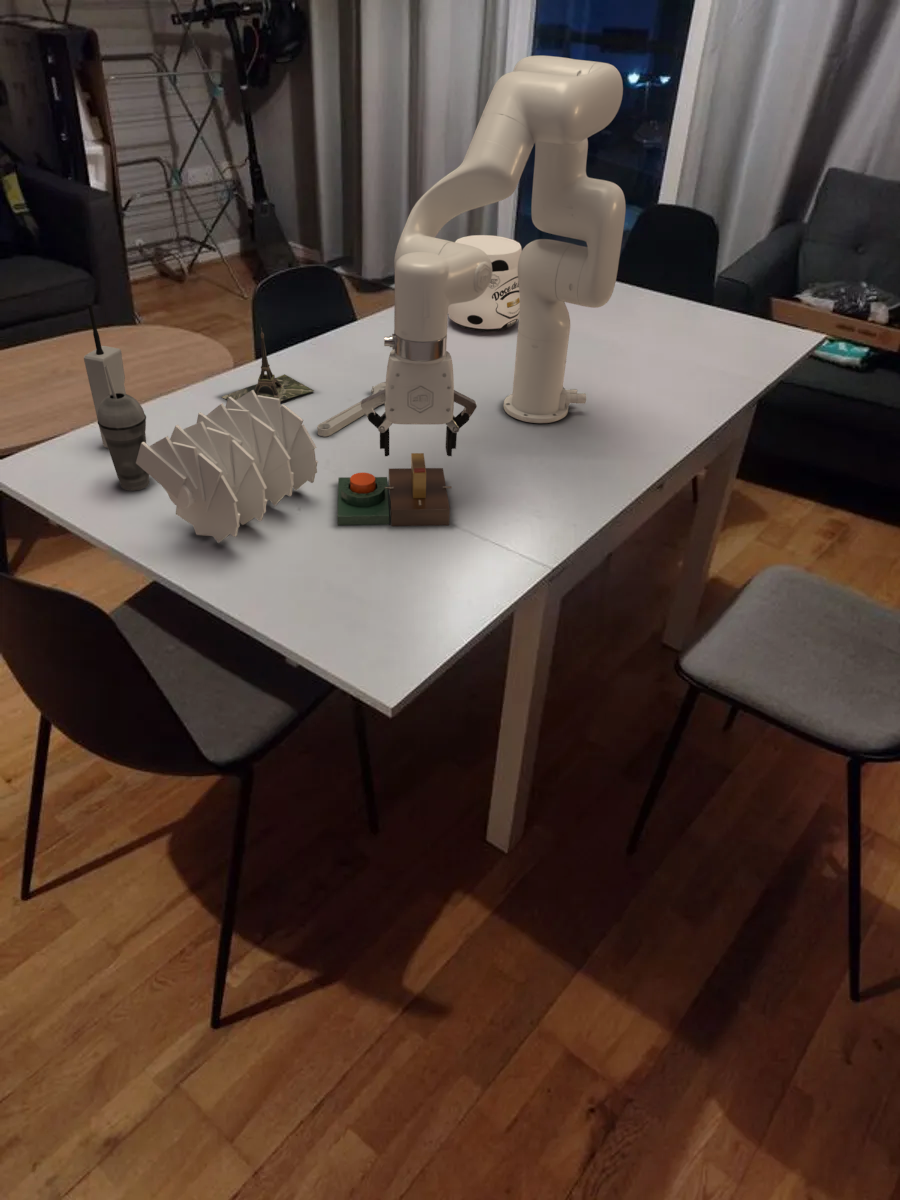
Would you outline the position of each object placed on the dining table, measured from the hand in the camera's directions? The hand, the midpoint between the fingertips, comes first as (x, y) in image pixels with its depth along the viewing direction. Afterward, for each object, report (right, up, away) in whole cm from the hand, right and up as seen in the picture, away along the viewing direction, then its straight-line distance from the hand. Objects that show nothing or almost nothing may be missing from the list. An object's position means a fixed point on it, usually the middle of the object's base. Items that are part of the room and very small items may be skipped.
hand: (417, 452), depth 137 cm
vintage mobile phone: (-53, +4, +18) cm, 56 cm away
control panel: (0, -7, +6) cm, 10 cm away
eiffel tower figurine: (-31, +17, +36) cm, 51 cm away
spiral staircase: (-28, -9, +2) cm, 29 cm away
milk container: (+13, +42, +71) cm, 84 cm away
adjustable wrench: (-12, +13, +32) cm, 37 cm away
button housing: (-9, -8, +5) cm, 13 cm away
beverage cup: (-47, -4, +8) cm, 47 cm away
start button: (-9, -5, +3) cm, 11 cm away
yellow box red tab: (0, -5, +4) cm, 7 cm away
